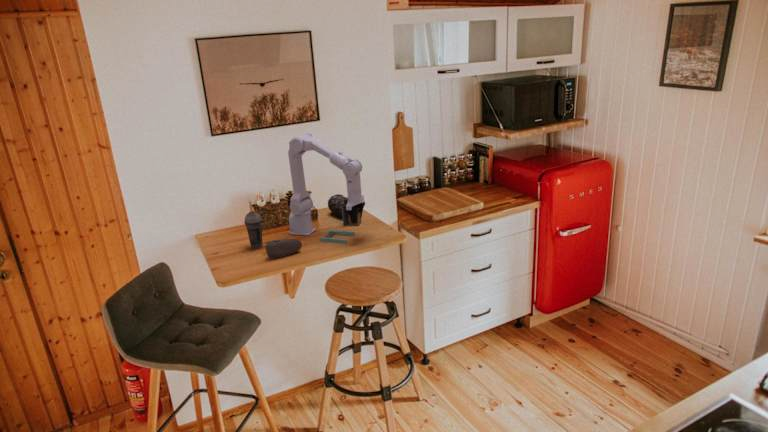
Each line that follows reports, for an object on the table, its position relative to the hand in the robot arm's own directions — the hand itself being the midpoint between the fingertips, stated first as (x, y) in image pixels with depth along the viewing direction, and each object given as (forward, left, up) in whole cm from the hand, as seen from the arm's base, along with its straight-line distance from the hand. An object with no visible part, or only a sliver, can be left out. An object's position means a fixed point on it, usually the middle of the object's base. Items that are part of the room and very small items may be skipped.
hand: (356, 221), depth 221 cm
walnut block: (-1, 0, -2) cm, 2 cm away
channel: (-9, 0, -8) cm, 13 cm away
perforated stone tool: (-23, -21, -9) cm, 33 cm away
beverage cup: (-39, -16, -9) cm, 43 cm away
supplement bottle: (-11, +19, -9) cm, 24 cm away
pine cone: (-19, +28, -9) cm, 35 cm away
